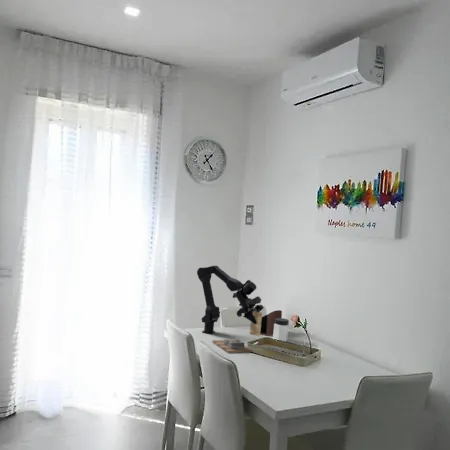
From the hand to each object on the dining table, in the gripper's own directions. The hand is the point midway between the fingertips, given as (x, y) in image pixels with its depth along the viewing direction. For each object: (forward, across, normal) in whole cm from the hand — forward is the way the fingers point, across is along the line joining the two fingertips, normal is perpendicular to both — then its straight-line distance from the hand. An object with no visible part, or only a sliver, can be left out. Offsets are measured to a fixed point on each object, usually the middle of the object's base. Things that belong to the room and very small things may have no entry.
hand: (257, 323), depth 267 cm
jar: (+9, +25, +9) cm, 28 cm away
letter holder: (-2, +34, +21) cm, 40 cm away
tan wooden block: (+4, 0, +6) cm, 7 cm away
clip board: (+4, -13, +14) cm, 20 cm away
